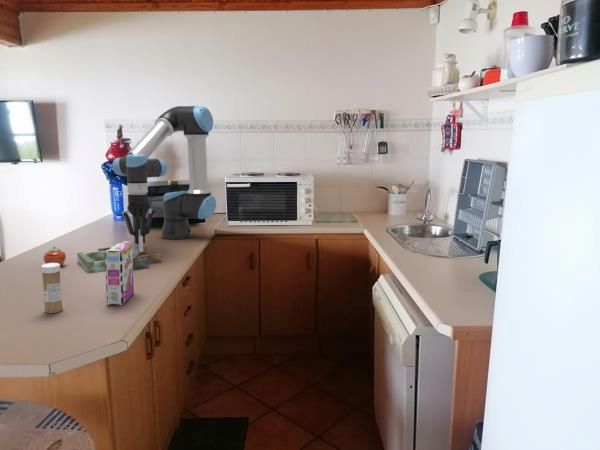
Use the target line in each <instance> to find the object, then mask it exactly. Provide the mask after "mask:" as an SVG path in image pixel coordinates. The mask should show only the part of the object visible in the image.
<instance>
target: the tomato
mask: <svg viewBox="0 0 600 450" xmlns="http://www.w3.org/2000/svg"><path fill="white" fill-rule="evenodd" d="M66 260H67V254H66V252H65V251H63V250H62V249H60V248H57V247H56V246H55V245H53V246H52V248H50V249H49V250H48V251H46V252H45V253H44V255H43V261H44V264H47V263H58V264H60V268H61V267H62V266H64V264H65V262H66Z"/></svg>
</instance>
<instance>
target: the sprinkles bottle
mask: <svg viewBox="0 0 600 450" xmlns="http://www.w3.org/2000/svg"><path fill="white" fill-rule="evenodd" d="M40 270H41V274H42V289H43V300H44V312H45V313H46V314H57V313H60V312H61V311H63V310H64V307H63V294H62V293H63V292H62V281H61V267H60V264H58V263H47V264H46V263H43V264H42V265H41V266H40Z"/></svg>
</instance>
